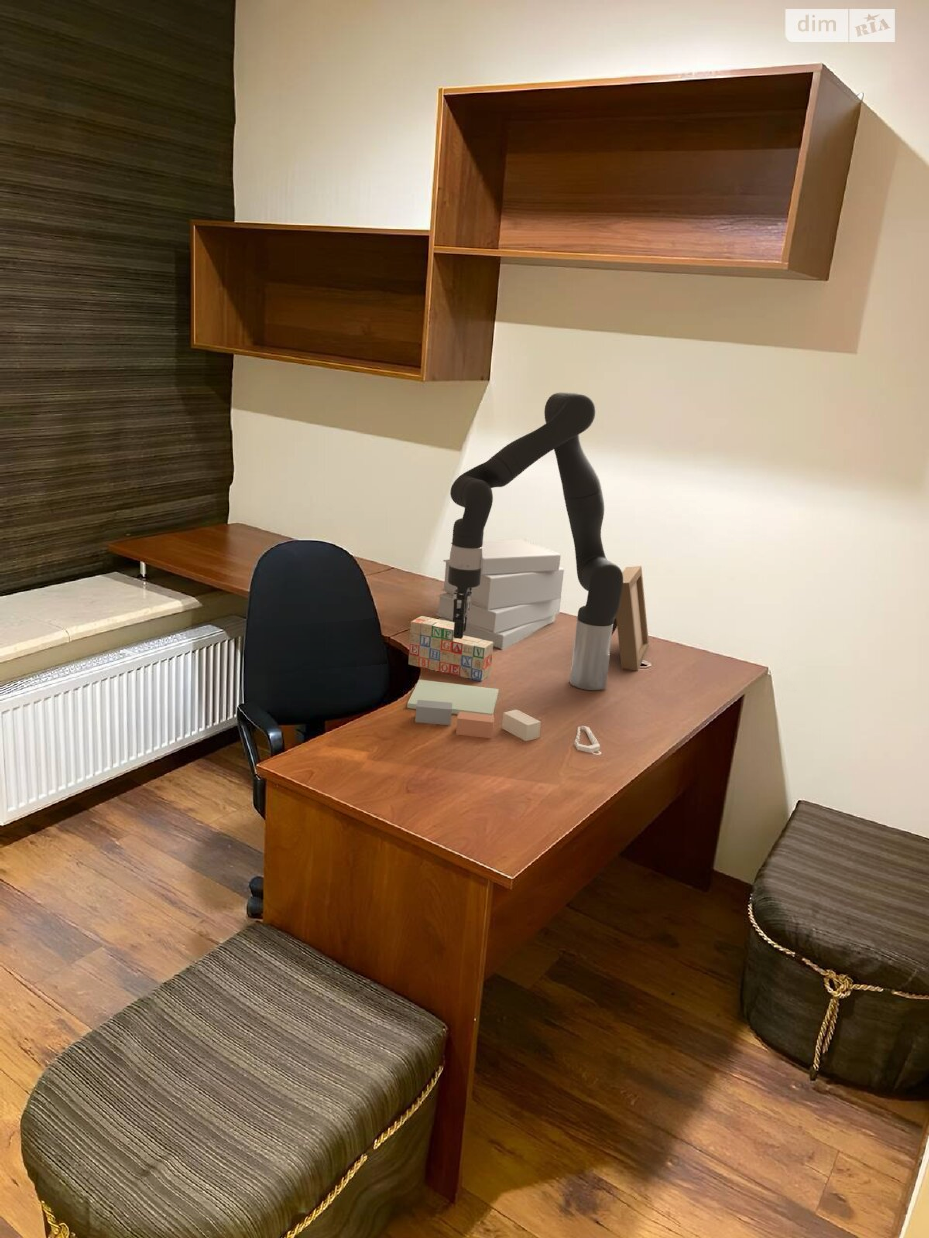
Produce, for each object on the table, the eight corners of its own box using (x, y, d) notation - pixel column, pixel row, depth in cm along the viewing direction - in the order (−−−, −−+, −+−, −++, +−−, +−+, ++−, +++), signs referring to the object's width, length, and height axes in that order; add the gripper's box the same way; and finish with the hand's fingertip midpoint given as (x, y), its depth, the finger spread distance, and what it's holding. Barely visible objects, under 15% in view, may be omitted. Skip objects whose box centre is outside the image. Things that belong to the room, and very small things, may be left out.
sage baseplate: (498, 693, 231) (498, 689, 231) (492, 718, 216) (492, 713, 216) (418, 683, 233) (419, 679, 233) (407, 707, 218) (407, 703, 217)
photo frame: (648, 651, 273) (661, 569, 265) (637, 674, 253) (650, 586, 245) (599, 642, 277) (609, 561, 270) (583, 664, 257) (594, 577, 250)
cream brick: (538, 738, 208) (540, 721, 207) (525, 742, 205) (527, 725, 204) (514, 725, 214) (516, 709, 213) (501, 728, 211) (503, 712, 210)
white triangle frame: (566, 731, 214) (566, 724, 213) (587, 731, 214) (588, 724, 214) (579, 756, 201) (580, 749, 201) (602, 756, 202) (603, 749, 202)
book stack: (568, 629, 287) (577, 548, 280) (512, 657, 259) (522, 567, 251) (484, 608, 302) (491, 530, 294) (423, 632, 273) (429, 546, 266)
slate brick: (451, 718, 214) (452, 702, 213) (450, 725, 211) (451, 709, 209) (416, 715, 214) (417, 699, 213) (415, 722, 211) (416, 706, 209)
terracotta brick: (493, 731, 209) (494, 715, 208) (491, 739, 205) (493, 722, 204) (457, 727, 210) (459, 711, 209) (455, 734, 206) (457, 718, 205)
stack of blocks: (490, 675, 244) (495, 630, 240) (481, 682, 238) (485, 636, 234) (418, 658, 252) (421, 614, 248) (407, 664, 246) (410, 620, 242)
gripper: (478, 573, 207) (471, 645, 212) (484, 559, 221) (478, 627, 226) (444, 569, 208) (439, 641, 213) (453, 555, 222) (448, 623, 227)
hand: (459, 634), depth 220 cm, fingers open, 5 cm apart
